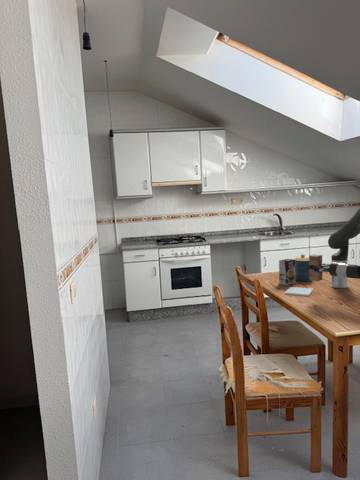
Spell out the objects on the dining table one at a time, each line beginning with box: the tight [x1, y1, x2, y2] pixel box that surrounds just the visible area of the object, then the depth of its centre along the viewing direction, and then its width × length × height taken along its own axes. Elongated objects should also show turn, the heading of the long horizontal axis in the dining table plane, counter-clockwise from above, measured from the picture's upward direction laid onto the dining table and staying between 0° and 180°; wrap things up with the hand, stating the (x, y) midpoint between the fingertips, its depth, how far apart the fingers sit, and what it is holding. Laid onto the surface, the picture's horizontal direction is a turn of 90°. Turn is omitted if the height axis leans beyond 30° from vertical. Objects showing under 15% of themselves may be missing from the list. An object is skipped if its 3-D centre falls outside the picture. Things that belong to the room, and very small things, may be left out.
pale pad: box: [284, 286, 314, 297], centre depth 227 cm, size 14×14×1 cm
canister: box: [294, 253, 312, 282], centre depth 257 cm, size 13×13×18 cm
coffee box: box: [278, 258, 296, 286], centre depth 248 cm, size 9×6×16 cm
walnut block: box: [308, 253, 323, 282], centre depth 209 cm, size 5×5×14 cm
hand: (311, 266), depth 210 cm, fingers closed on walnut block, 5 cm apart
